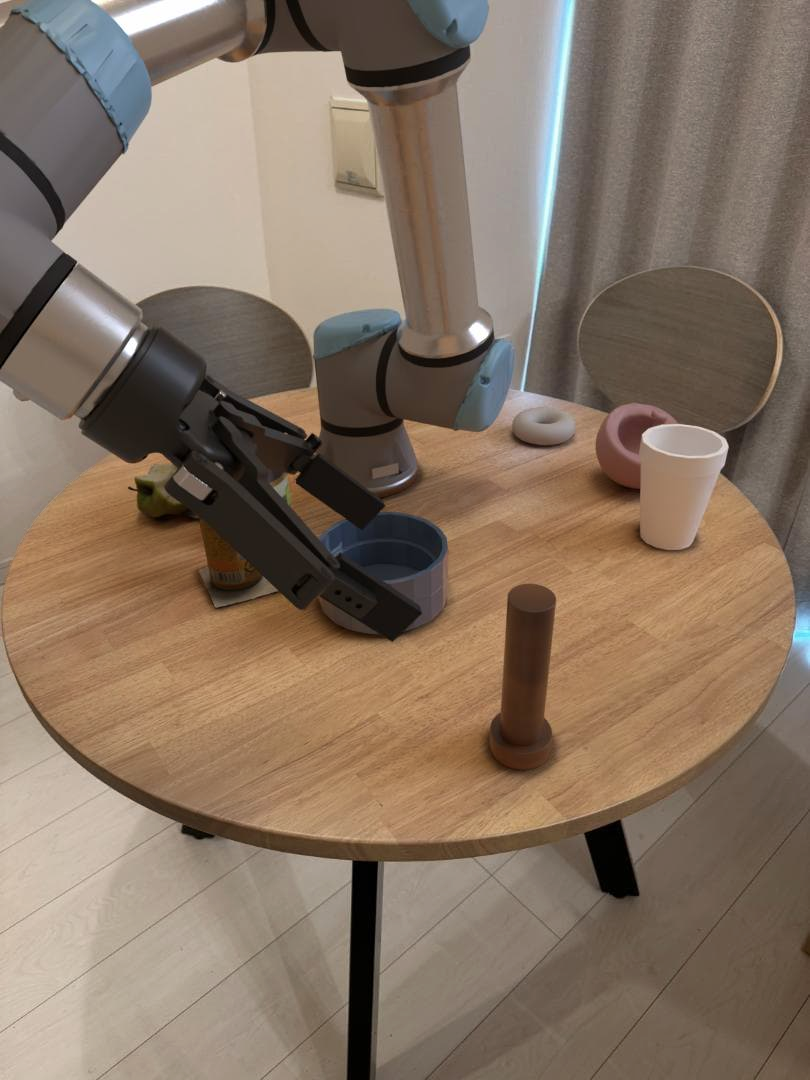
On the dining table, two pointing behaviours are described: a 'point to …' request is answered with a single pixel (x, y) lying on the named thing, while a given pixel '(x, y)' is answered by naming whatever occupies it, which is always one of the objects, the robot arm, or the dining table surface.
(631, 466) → the pink hollowed ball
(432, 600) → the bowl
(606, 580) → the dining table surface
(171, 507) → the fruit
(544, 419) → the donut
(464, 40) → the robot arm
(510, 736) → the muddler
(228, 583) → the condiment
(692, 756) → the dining table surface
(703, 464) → the foam cup
